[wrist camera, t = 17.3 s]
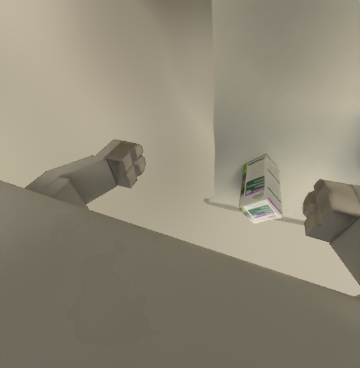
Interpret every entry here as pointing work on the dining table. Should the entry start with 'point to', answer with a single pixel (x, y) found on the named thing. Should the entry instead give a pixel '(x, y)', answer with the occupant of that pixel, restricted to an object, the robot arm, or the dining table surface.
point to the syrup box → (261, 191)
